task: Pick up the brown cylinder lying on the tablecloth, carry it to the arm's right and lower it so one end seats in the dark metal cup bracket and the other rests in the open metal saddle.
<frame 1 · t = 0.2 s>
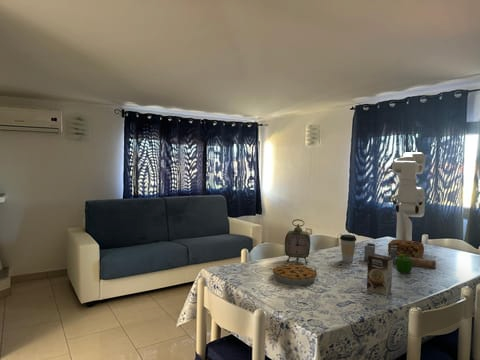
hand: (406, 212, 191), 30 cm above the table, fingers open, 9 cm apart
coffee box: (378, 291, 152), on the table
cup bracket: (370, 259, 203), on the table
brown cylinder: (419, 262, 191), point 2 cm above the table
tabletop clock: (297, 261, 196), on the table
coffee cup: (347, 261, 199), on the table
bell pepper: (403, 272, 179), on the table
pie: (294, 279, 167), on the table
bread: (405, 256, 213), on the table
saddle bracket: (393, 262, 197), on the table
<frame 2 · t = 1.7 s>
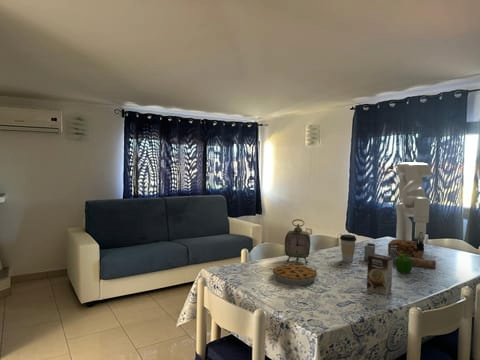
hand: (420, 249, 190), 10 cm above the table, fingers open, 9 cm apart
nothing on the table moved.
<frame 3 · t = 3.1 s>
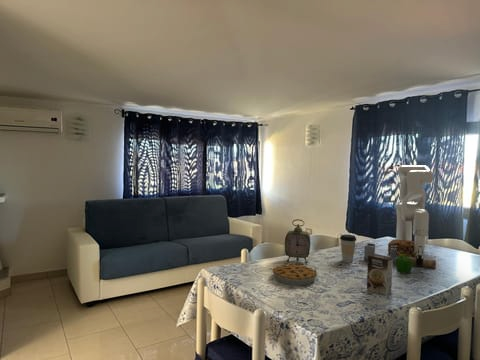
hand: (419, 264, 191), 1 cm above the table, fingers closed on brown cylinder, 4 cm apart
brown cylinder: (419, 262, 191), point 2 cm above the table, touching gripper
everything else where it was.
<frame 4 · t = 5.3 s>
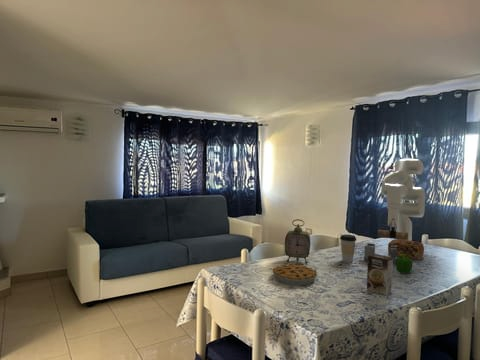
hand: (392, 236, 197), 15 cm above the table, fingers closed on brown cylinder, 4 cm apart
brown cylinder: (392, 234, 197), point 16 cm above the table, touching gripper
everything else where it was.
when the fingers open (6 cm above the table, at t = 7.6 s): brown cylinder drops 1 cm, resting on cup bracket, saddle bracket.
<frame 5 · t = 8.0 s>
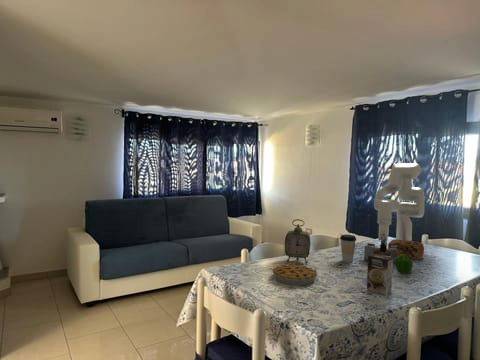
hand: (383, 249, 199), 7 cm above the table, fingers open, 9 cm apart
brown cylinder: (383, 251, 199), point 6 cm above the table, touching cup bracket, saddle bracket
everything else where it was.
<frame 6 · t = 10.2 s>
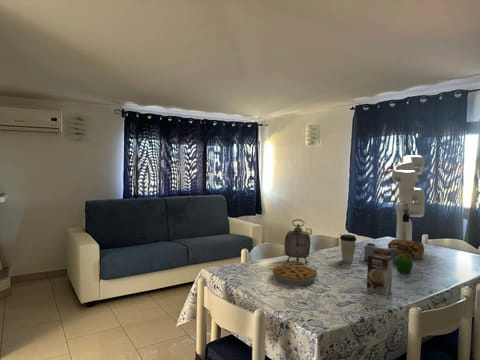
hand: (406, 220, 200), 24 cm above the table, fingers open, 9 cm apart
nothing on the table moved.
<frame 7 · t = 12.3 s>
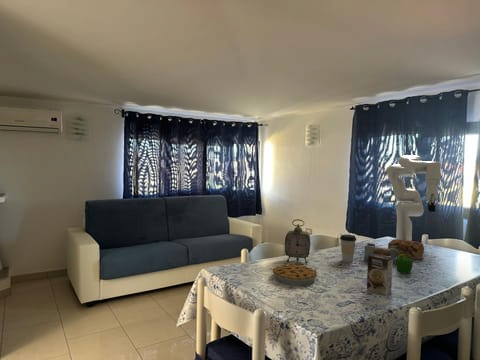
hand: (431, 210, 201), 30 cm above the table, fingers open, 9 cm apart
nothing on the table moved.
at the end: brown cylinder 0.2 cm from the target spot, point 5.7 cm above the table; brown cylinder touching cup bracket, saddle bracket; the gripper is holding nothing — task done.
